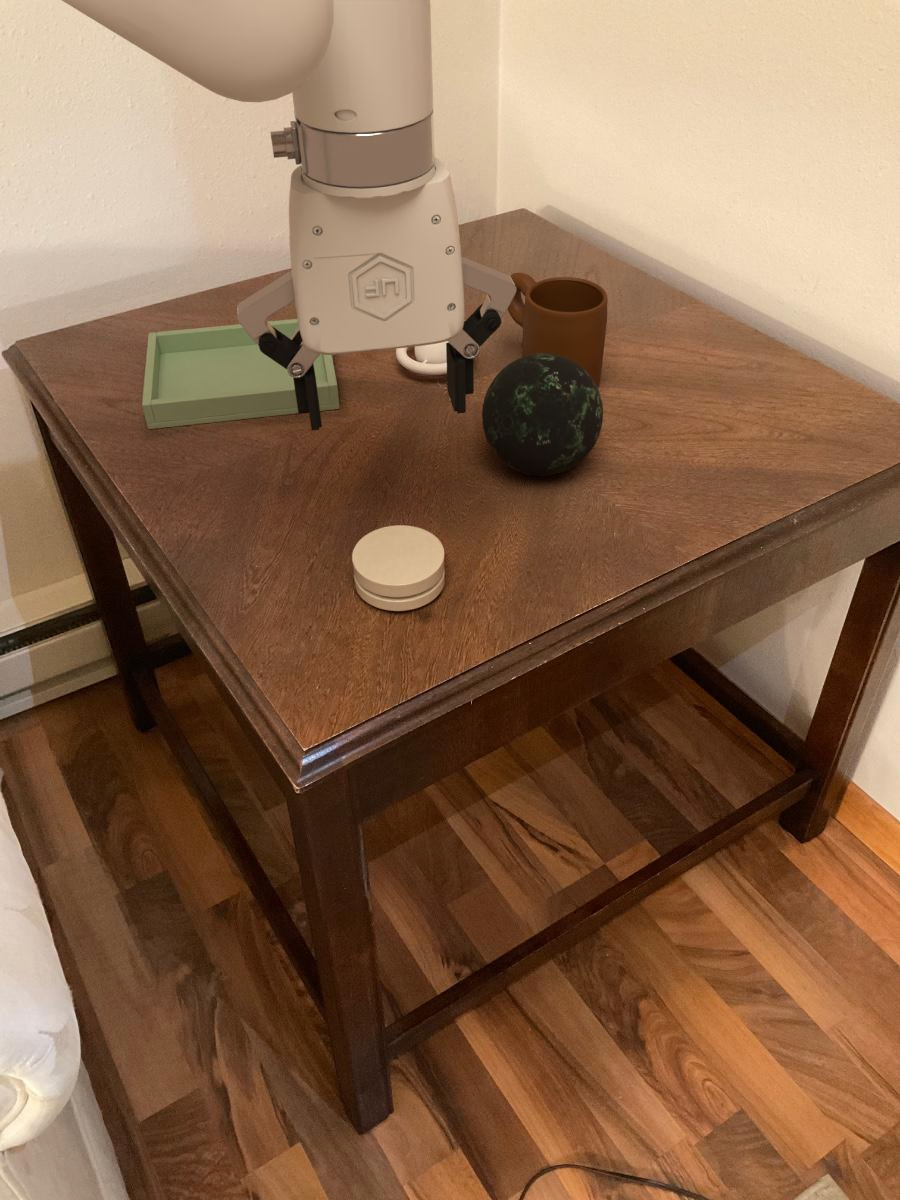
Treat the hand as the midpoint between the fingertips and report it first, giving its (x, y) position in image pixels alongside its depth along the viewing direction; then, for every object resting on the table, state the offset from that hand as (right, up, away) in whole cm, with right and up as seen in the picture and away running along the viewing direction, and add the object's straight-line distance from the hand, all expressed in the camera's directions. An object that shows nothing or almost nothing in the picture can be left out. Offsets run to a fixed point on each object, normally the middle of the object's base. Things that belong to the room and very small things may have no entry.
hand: (386, 410), depth 66 cm
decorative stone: (+12, -1, +19) cm, 23 cm away
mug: (+14, +9, +30) cm, 34 cm away
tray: (-16, +9, +30) cm, 35 cm away
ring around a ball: (+3, +10, +31) cm, 33 cm away
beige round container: (+1, -12, +8) cm, 14 cm away
